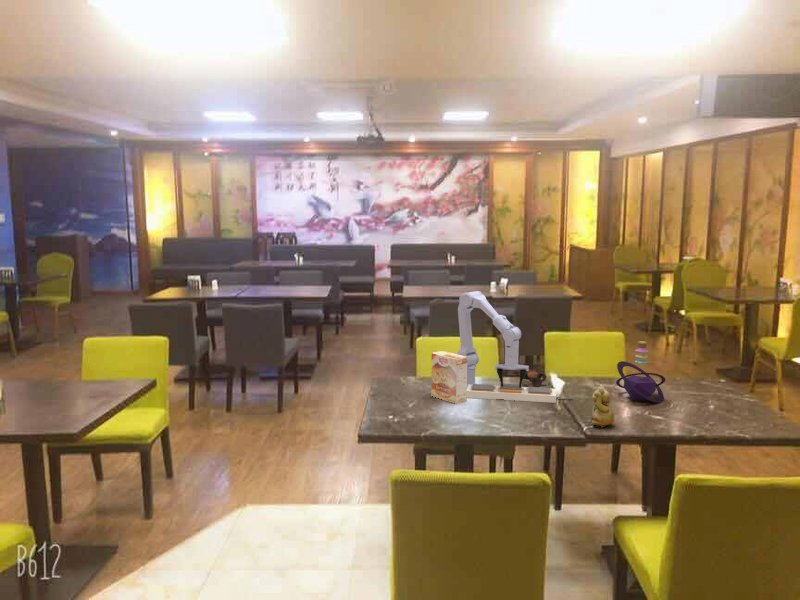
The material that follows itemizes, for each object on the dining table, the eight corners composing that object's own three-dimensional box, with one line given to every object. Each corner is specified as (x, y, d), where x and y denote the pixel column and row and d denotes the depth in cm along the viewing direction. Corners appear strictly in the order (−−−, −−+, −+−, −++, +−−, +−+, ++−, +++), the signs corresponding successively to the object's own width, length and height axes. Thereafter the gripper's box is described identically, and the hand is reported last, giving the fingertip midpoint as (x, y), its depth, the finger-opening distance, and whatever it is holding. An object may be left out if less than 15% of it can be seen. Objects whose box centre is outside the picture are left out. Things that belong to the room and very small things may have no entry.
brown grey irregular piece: (522, 388, 291) (518, 371, 294) (523, 392, 300) (519, 375, 303) (548, 383, 289) (544, 365, 292) (549, 387, 298) (545, 370, 301)
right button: (528, 395, 272) (528, 391, 272) (528, 391, 279) (528, 386, 279) (550, 397, 270) (550, 392, 270) (549, 392, 277) (550, 387, 277)
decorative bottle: (657, 410, 259) (660, 349, 255) (605, 400, 271) (608, 343, 267) (672, 397, 276) (675, 340, 273) (623, 388, 289) (625, 334, 285)
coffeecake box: (430, 396, 278) (430, 352, 275) (442, 393, 283) (442, 350, 280) (455, 404, 267) (456, 358, 264) (467, 400, 272) (467, 356, 269)
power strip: (465, 397, 276) (466, 391, 275) (468, 390, 286) (468, 384, 286) (573, 403, 267) (573, 396, 267) (571, 396, 278) (571, 389, 277)
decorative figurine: (592, 419, 247) (593, 381, 245) (614, 422, 244) (616, 384, 242) (589, 427, 239) (591, 388, 236) (613, 430, 236) (614, 390, 233)
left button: (471, 392, 277) (471, 388, 277) (473, 388, 284) (473, 383, 284) (493, 394, 275) (493, 389, 275) (494, 389, 282) (494, 385, 282)
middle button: (499, 392, 274) (499, 387, 274) (500, 387, 281) (500, 383, 281) (521, 393, 273) (521, 388, 272) (521, 388, 280) (521, 384, 279)
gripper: (494, 356, 272) (493, 387, 274) (528, 358, 269) (528, 389, 271) (495, 353, 279) (494, 383, 281) (528, 354, 276) (528, 385, 278)
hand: (511, 386), depth 277 cm, fingers open, 7 cm apart
